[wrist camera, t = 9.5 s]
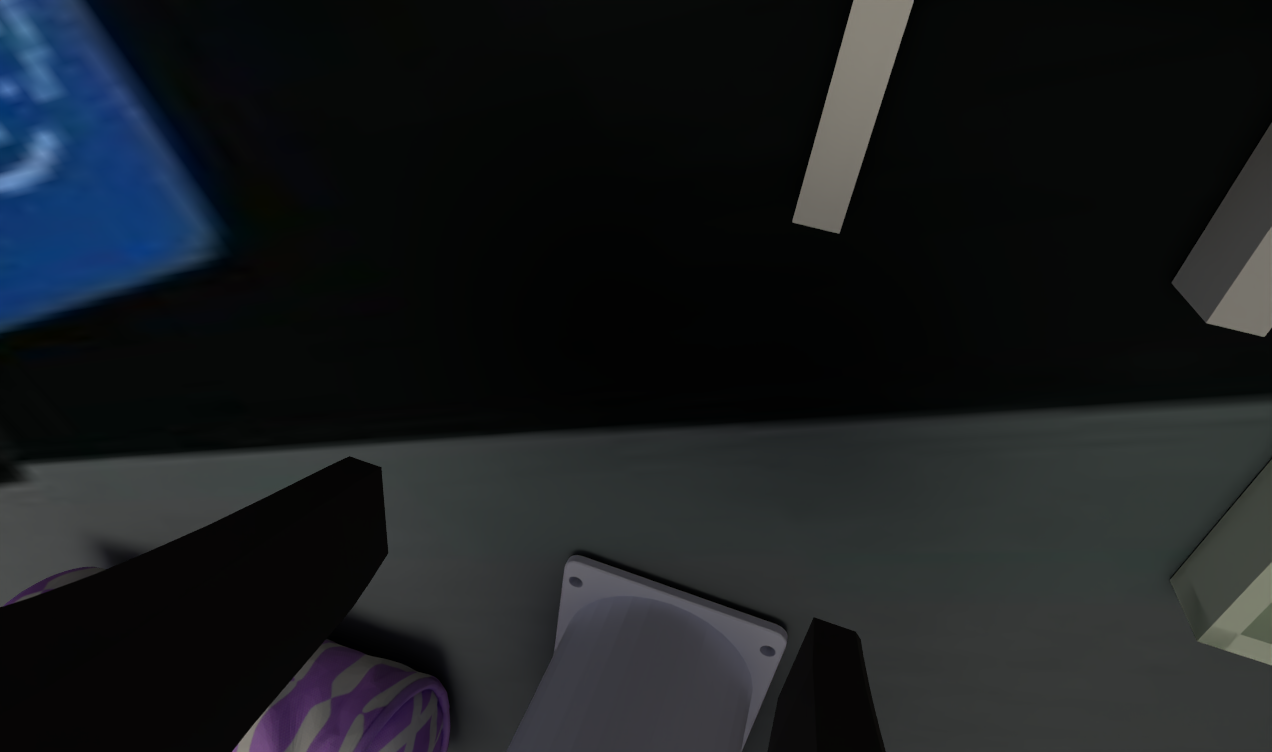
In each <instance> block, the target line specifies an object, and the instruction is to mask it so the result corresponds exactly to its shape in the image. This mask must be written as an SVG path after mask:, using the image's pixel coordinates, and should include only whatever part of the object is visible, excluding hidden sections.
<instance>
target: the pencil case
mask: <svg viewBox="0 0 1272 752" xmlns="http://www.w3.org/2000/svg"><path fill="white" fill-rule="evenodd" d="M104 570H106V569H103V568H97V567H82V568H77V569H72V570H68V571H64V572H61V573H59V574H56V575H53V576H51V577H48V578H46V579H44V580H42V581H40V582H38V583H36V584H35V585H33V586H31V587H29V588H28V589H26V590H24V591H22V592H21V593H20V594H18V595H17V596H15V597H14V598H13V599H11V600H10V601H9V602H7V603H6V604H5V605H4V606H6V605H9V604H12V603H15V602H19V601H22V600H25V599H28V598H31V597H33V596H36V595H39V594H42V593H45V592H48V591H50V590H53V589H56V588H58V587H61V586H64V585H67V584H69V583H72V582H75V581H77V580H80V579H83V578H86V577H88V576H91V575H93V574H96V573H98V572H101V571H104ZM449 708H450V705H449V700H448V695H447V691H446V690H445V688H444V687H443V685H442V684H441V682H440V681H439V680H438V679H437V678H436V677H434V676H432V675H429V674H425V673H421V672H417V671H415V670H413V669H412V668H410V667H408V666H406V665H403V664H401V663H398V662H395V661H391V660H388V659H384V658H379V657H373V656H369V655H366V654H364V653H362V652H360V651H357V650H354V649H351V648H348V647H345V646H342V645H339V644H337V643H335V642H333V641H331V640H328V639H326V640H325V641H324V642H323V643H322V645H321V646H320V647H319V648H318V649H317V651H316V652H315V653H314V654H313V655H312V656H311V658H310V659H309V660H308V661H307V662H306V663H305V665H304V666H303V667H302V668H301V669H300V670H299V672H298V673H297V674H296V675H295V676H294V677H293V679H292V680H291V681H290V682H289V683H288V685H287V686H286V687H285V688H284V689H283V690H282V692H281V693H280V694H279V695H278V696H277V697H276V699H275V700H274V701H273V702H272V703H271V704H270V706H269V707H268V708H267V709H266V710H265V712H264V713H263V714H262V715H261V716H260V717H259V719H258V720H257V721H256V722H255V723H254V725H253V726H252V727H251V728H250V730H249V731H248V732H247V733H246V735H245V736H244V737H243V738H242V740H241V741H240V742H239V744H238V745H237V746H236V747H235V749H234V750H233V751H232V752H447V749H448V745H449V737H450V713H449Z"/></svg>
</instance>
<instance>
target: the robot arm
mask: <svg viewBox="0 0 1272 752" xmlns="http://www.w3.org/2000/svg"><path fill="white" fill-rule="evenodd" d="M387 554H388V544H387V532H386V520H385V507H384V495H383V483H382V470H381V467H379V466H376V465H373V464H370V463H367V462H364V461H361V460H358V459H356V458H353V457H350V456H349V457H347V458H345V459H343V460H341V461H338V462H336V463H334V464H332V465H330V466H328V467H326V468H324V469H322V470H320V471H318V472H316V473H314V474H312V475H310V476H308V477H306V478H304V479H302V480H300V481H298V482H296V483H294V484H292V485H290V486H288V487H286V488H284V489H282V490H280V491H278V492H276V493H274V494H272V495H270V496H268V497H266V498H264V499H262V500H259V501H257V502H255V503H253V504H251V505H249V506H247V507H245V508H243V509H241V510H239V511H237V512H235V513H233V514H231V515H229V516H226V517H224V518H222V519H220V520H218V521H216V522H214V523H212V524H210V525H208V526H206V527H203V528H201V529H199V530H197V531H194V532H192V533H190V534H187V535H185V536H183V537H181V538H178V539H176V540H174V541H172V542H169V543H167V544H165V545H163V546H160V547H158V548H156V549H154V550H151V551H149V552H147V553H145V554H142V555H140V556H138V557H135V558H133V559H131V560H128V561H126V562H123V563H121V564H119V565H116V566H114V567H111V568H109V569H106V570H104V571H101V572H98V573H96V574H93V575H91V576H88V577H86V578H83V579H80V580H77V581H75V582H72V583H69V584H67V585H64V586H61V587H58V588H56V589H53V590H50V591H48V592H45V593H42V594H39V595H36V596H33V597H31V598H28V599H25V600H22V601H19V602H15V603H12V604H9V605H6V606H3V607H0V752H232V751H233V750H234V749H235V747H236V746H237V745H238V744H239V742H240V741H241V740H242V738H243V737H244V736H245V735H246V733H247V732H248V731H249V730H250V728H251V727H252V726H253V725H254V723H255V722H256V721H257V720H258V719H259V717H260V716H261V715H262V714H263V713H264V712H265V710H266V709H267V708H268V707H269V706H270V704H271V703H272V702H273V701H274V700H275V699H276V697H277V696H278V695H279V694H280V693H281V692H282V690H283V689H284V688H285V687H286V686H287V685H288V683H289V682H290V681H291V680H292V679H293V677H294V676H295V675H296V674H297V673H298V672H299V670H300V669H301V668H302V667H303V666H304V665H305V663H306V662H307V661H308V660H309V659H310V658H311V656H312V655H313V654H314V653H315V652H316V651H317V649H318V648H319V647H320V646H321V645H322V643H323V642H324V641H325V640H326V639H327V637H328V636H329V635H330V634H331V633H332V632H333V630H334V629H335V628H336V627H337V626H338V624H339V623H340V622H341V621H342V620H343V618H344V617H345V616H346V615H347V613H348V612H349V611H350V610H351V609H352V607H353V606H354V605H355V603H356V602H357V600H358V599H359V597H360V596H361V594H362V593H363V591H364V590H365V588H366V587H367V586H368V584H369V583H370V581H371V579H372V578H373V576H374V575H375V573H376V572H377V570H378V568H379V567H380V565H381V564H382V562H383V561H384V559H385V557H386V556H387ZM578 578H579V579H578ZM787 637H788V635H787V632H786V631H785V630H784V629H783V628H782V627H781V626H779V625H777V624H774V623H771V622H769V621H766V620H763V619H760V618H757V617H754V616H752V615H749V614H746V613H743V612H740V611H737V610H735V609H732V608H729V607H726V606H723V605H720V604H717V603H715V602H712V601H709V600H706V599H703V598H700V597H698V596H695V595H692V594H689V593H686V592H683V591H681V590H678V589H675V588H672V587H669V586H666V585H664V584H661V583H658V582H655V581H652V580H649V579H646V578H644V577H641V576H638V575H635V574H632V573H629V572H627V571H624V570H621V569H618V568H615V567H612V566H610V565H607V564H604V563H601V562H598V561H595V560H592V559H590V558H587V557H584V556H580V555H573V556H571V557H569V559H568V561H567V563H566V565H565V567H564V575H563V583H562V591H561V599H560V608H559V616H558V624H557V632H556V640H555V648H554V655H553V657H552V659H551V661H550V663H549V665H548V667H547V669H546V671H545V673H544V675H543V677H542V679H541V682H540V684H539V686H538V688H537V690H536V692H535V694H534V696H533V698H532V700H531V702H530V704H529V706H528V708H527V710H526V712H525V714H524V716H523V718H522V720H521V722H520V724H519V727H518V729H517V731H516V733H515V735H514V737H513V739H512V741H511V743H510V745H509V747H508V749H507V751H506V752H742V750H743V747H744V745H745V743H746V740H747V738H748V736H749V733H750V731H751V728H752V726H753V724H754V721H755V719H756V717H757V714H758V712H759V709H760V707H761V705H762V702H763V700H764V698H765V695H766V693H767V690H768V688H769V686H770V683H771V681H772V679H773V676H774V674H775V671H776V669H777V667H778V664H779V662H780V660H781V657H782V655H783V652H784V650H785V648H786V644H787ZM767 646H770V647H767ZM768 752H886V751H885V747H884V744H883V740H882V736H881V732H880V728H879V724H878V720H877V716H876V712H875V708H874V704H873V700H872V695H871V691H870V687H869V682H868V677H867V672H866V667H865V662H864V657H863V651H862V645H861V639H860V638H859V636H858V635H857V633H856V632H855V631H852V630H849V629H846V628H843V627H840V626H837V625H835V624H832V623H829V622H826V621H823V620H820V619H817V618H813V620H812V623H811V625H810V627H809V629H808V632H807V634H806V636H805V639H804V641H803V643H802V645H801V648H800V650H799V652H798V654H797V657H796V659H795V661H794V663H793V666H792V668H791V670H790V673H789V675H788V677H787V679H786V682H785V684H784V686H783V688H782V691H781V693H780V695H779V698H778V702H777V707H776V712H775V717H774V722H773V727H772V732H771V737H770V742H769V747H768Z"/></svg>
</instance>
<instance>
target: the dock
mask: <svg viewBox="0 0 1272 752" xmlns="http://www.w3.org/2000/svg"><path fill="white" fill-rule="evenodd" d="M913 2H914V0H854V1H853V5H852V8H851V12H850V15H849V19H848V23H847V26H846V30H845V33H844V37H843V41H842V44H841V48H840V51H839V55H838V59H837V62H836V66H835V69H834V73H833V77H832V80H831V84H830V87H829V91H828V95H827V98H826V102H825V105H824V109H823V113H822V116H821V120H820V124H819V127H818V131H817V134H816V138H815V142H814V145H813V149H812V152H811V156H810V160H809V163H808V167H807V170H806V174H805V178H804V181H803V185H802V188H801V192H800V196H799V199H798V203H797V206H796V210H795V214H794V217H793V221H792V222H793V223H797V224H801V225H805V226H810V227H814V228H818V229H822V230H826V231H830V232H834V233H838V234H839V233H840V230H841V227H842V224H843V221H844V217H845V214H846V211H847V208H848V205H849V202H850V199H851V196H852V192H853V189H854V186H855V183H856V180H857V177H858V174H859V171H860V167H861V164H862V161H863V158H864V155H865V152H866V149H867V146H868V142H869V139H870V136H871V133H872V130H873V127H874V124H875V120H876V117H877V114H878V111H879V108H880V105H881V102H882V99H883V95H884V92H885V89H886V86H887V83H888V80H889V77H890V74H891V70H892V67H893V64H894V61H895V58H896V55H897V52H898V49H899V45H900V42H901V39H902V36H903V33H904V30H905V27H906V24H907V20H908V17H909V14H910V11H911V8H912V5H913ZM1172 284H1173V285H1174V287H1175V288H1176V289H1177V290H1178V291H1179V292H1180V293H1181V295H1182V296H1183V297H1184V298H1185V299H1186V300H1187V301H1188V303H1189V304H1190V305H1191V306H1192V307H1193V308H1194V310H1195V311H1196V312H1197V313H1198V314H1199V315H1200V316H1201V318H1202V319H1203V320H1204V321H1205V322H1206V323H1209V324H1213V325H1217V326H1221V327H1225V328H1229V329H1233V330H1238V331H1242V332H1246V333H1250V334H1254V335H1258V336H1262V337H1265V336H1266V334H1267V333H1268V332H1269V330H1270V329H1271V327H1272V123H1271V124H1270V126H1269V128H1268V129H1267V131H1266V132H1265V134H1264V136H1263V137H1262V139H1261V140H1260V142H1259V144H1258V145H1257V147H1256V148H1255V150H1254V152H1253V153H1252V155H1251V156H1250V158H1249V160H1248V161H1247V163H1246V164H1245V166H1244V168H1243V169H1242V171H1241V172H1240V174H1239V176H1238V177H1237V179H1236V180H1235V182H1234V184H1233V185H1232V187H1231V188H1230V190H1229V192H1228V193H1227V195H1226V196H1225V198H1224V200H1223V201H1222V203H1221V204H1220V206H1219V208H1218V209H1217V211H1216V212H1215V214H1214V216H1213V217H1212V219H1211V220H1210V222H1209V224H1208V225H1207V227H1206V228H1205V230H1204V232H1203V233H1202V235H1201V236H1200V238H1199V240H1198V241H1197V243H1196V244H1195V246H1194V248H1193V249H1192V251H1191V252H1190V254H1189V256H1188V257H1187V259H1186V260H1185V262H1184V264H1183V265H1182V267H1181V268H1180V270H1179V272H1178V273H1177V275H1176V276H1175V278H1174V280H1173V281H1172Z"/></svg>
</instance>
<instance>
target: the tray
mask: <svg viewBox="0 0 1272 752" xmlns="http://www.w3.org/2000/svg"><path fill="white" fill-rule="evenodd" d="M1170 582H1171V585H1172V587H1173V589H1174V591H1175V593H1176V596H1177V598H1178V600H1179V602H1180V605H1181V607H1182V609H1183V611H1184V613H1185V616H1186V618H1187V620H1188V622H1189V625H1190V627H1191V629H1192V631H1193V633H1194V636H1195V638H1196V640H1197V641H1198V642H1201V643H1204V644H1207V645H1210V646H1213V647H1216V648H1220V649H1223V650H1226V651H1229V652H1232V653H1235V654H1238V655H1241V656H1245V657H1248V658H1251V659H1254V660H1257V661H1260V662H1263V663H1266V664H1270V665H1272V459H1271V461H1270V462H1269V463H1268V464H1267V465H1266V467H1265V468H1264V469H1263V470H1262V471H1261V472H1260V474H1259V475H1258V476H1257V477H1256V478H1255V480H1254V481H1253V482H1252V483H1251V484H1250V486H1249V487H1248V488H1247V489H1246V490H1245V491H1244V493H1243V494H1242V495H1241V496H1240V497H1239V499H1238V500H1237V501H1236V502H1235V503H1234V505H1233V506H1232V507H1231V508H1230V509H1229V510H1228V512H1227V513H1226V514H1225V515H1224V516H1223V518H1222V519H1221V520H1220V521H1219V522H1218V524H1217V525H1216V526H1215V527H1214V528H1213V529H1212V531H1211V532H1210V533H1209V534H1208V535H1207V537H1206V538H1205V539H1204V540H1203V541H1202V542H1201V544H1200V545H1199V546H1198V547H1197V548H1196V550H1195V551H1194V552H1193V553H1192V554H1191V556H1190V557H1189V558H1188V559H1187V560H1186V561H1185V563H1184V564H1183V565H1182V566H1181V567H1180V569H1179V570H1178V571H1177V572H1176V573H1175V575H1174V576H1173V577H1172V578H1171V579H1170Z"/></svg>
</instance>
